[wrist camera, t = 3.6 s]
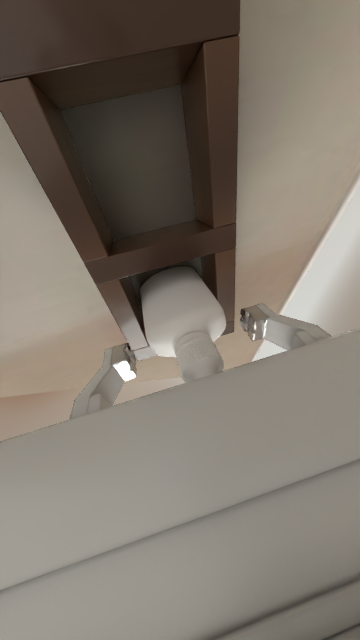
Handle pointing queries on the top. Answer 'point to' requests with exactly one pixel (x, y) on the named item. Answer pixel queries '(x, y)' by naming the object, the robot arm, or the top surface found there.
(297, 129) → the top surface
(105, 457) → the robot arm
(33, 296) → the top surface
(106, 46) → the stand
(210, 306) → the eye dropper bottle
